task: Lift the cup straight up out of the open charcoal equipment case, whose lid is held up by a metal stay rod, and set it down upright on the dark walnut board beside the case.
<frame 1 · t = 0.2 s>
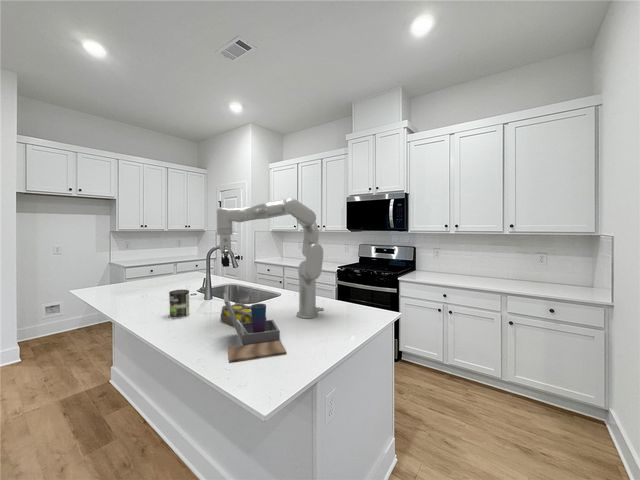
hand: (225, 265, 148), 31 cm above the countertop, tool pointing down, fingers open, 9 cm apart
walnut board: (256, 351, 117), on the countertop
cup: (258, 337, 133), resting in equipment case
coffee can: (179, 316, 164), on the countertop
equipment case: (258, 337, 133), on the countertop
case lid: (231, 313, 128), point 13 cm above the countertop, hinge at 110.0°
cage light: (243, 323, 153), on the countertop
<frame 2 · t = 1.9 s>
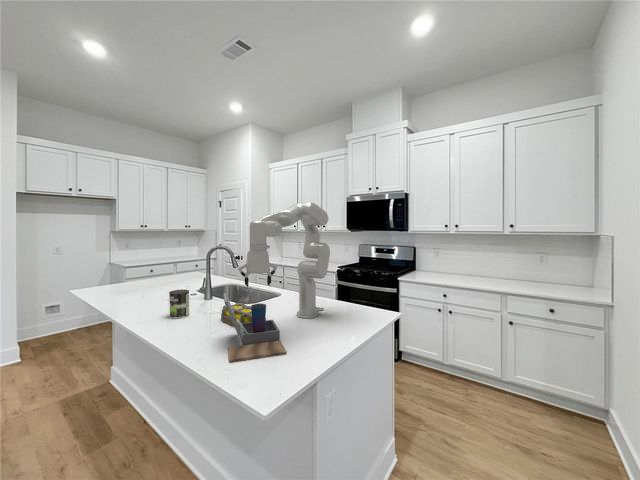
hand: (258, 285, 131), 24 cm above the countertop, tool pointing down, fingers open, 9 cm apart
nothing on the countertop moved.
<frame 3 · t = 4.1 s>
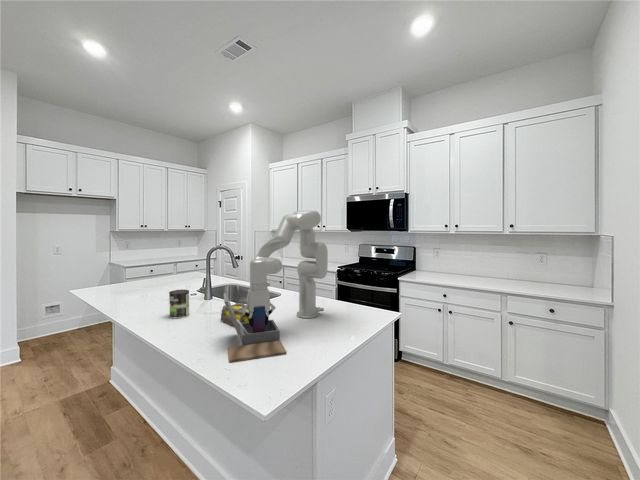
hand: (258, 324, 132), 6 cm above the countertop, tool pointing down, fingers closed on cup, 6 cm apart
cup: (258, 337, 133), resting in equipment case, touching gripper
everything else where it was.
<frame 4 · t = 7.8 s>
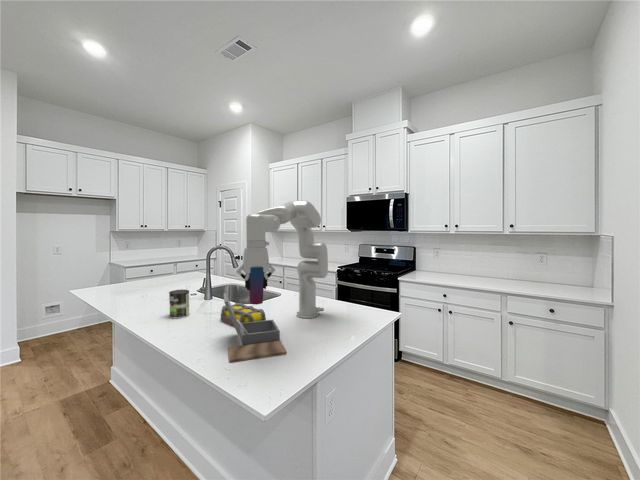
hand: (256, 288, 117), 26 cm above the countertop, tool pointing down, fingers closed on cup, 6 cm apart
cup: (256, 303, 117), point 20 cm above the countertop, touching gripper
everything else where it was.
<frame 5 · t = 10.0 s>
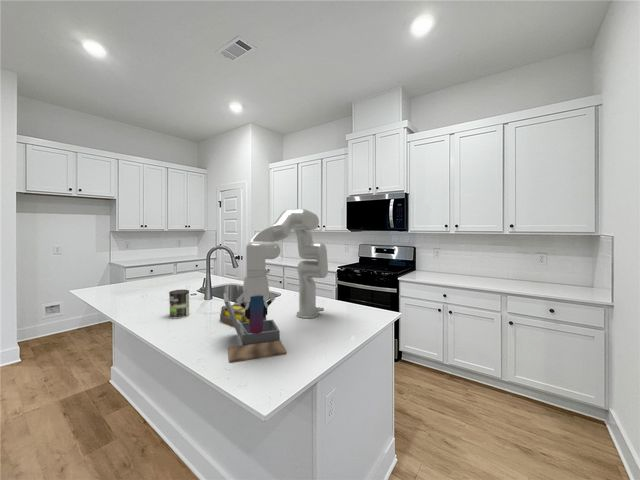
hand: (256, 317, 117), 14 cm above the countertop, tool pointing down, fingers closed on cup, 6 cm apart
cup: (256, 331, 117), point 8 cm above the countertop, touching gripper
everything else where it was.
when the fingers open (8 cm above the countertop, at t = 11.8 s): cup stays where it is, resting on walnut board.
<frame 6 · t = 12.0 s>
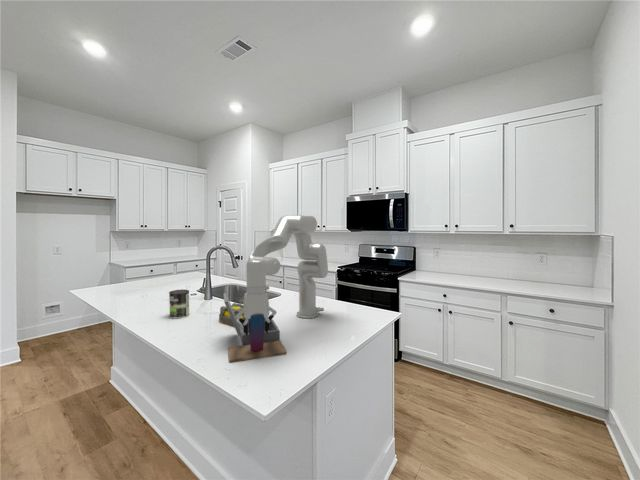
hand: (256, 332, 117), 8 cm above the countertop, tool pointing down, fingers open, 7 cm apart
cup: (257, 349, 118), point 1 cm above the countertop, touching walnut board
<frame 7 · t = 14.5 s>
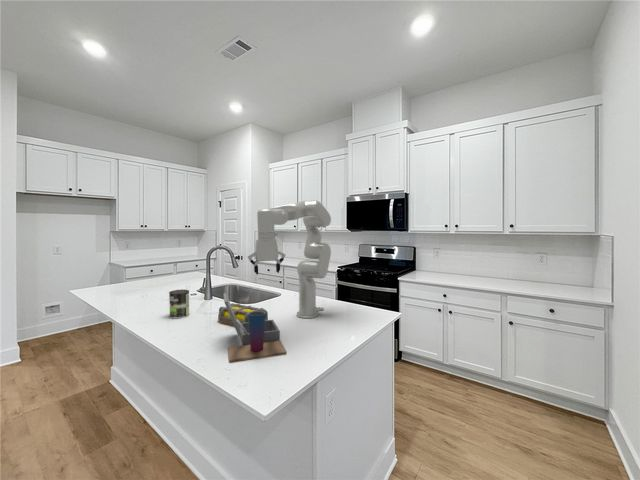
hand: (267, 273, 133), 30 cm above the countertop, tool pointing down, fingers open, 9 cm apart
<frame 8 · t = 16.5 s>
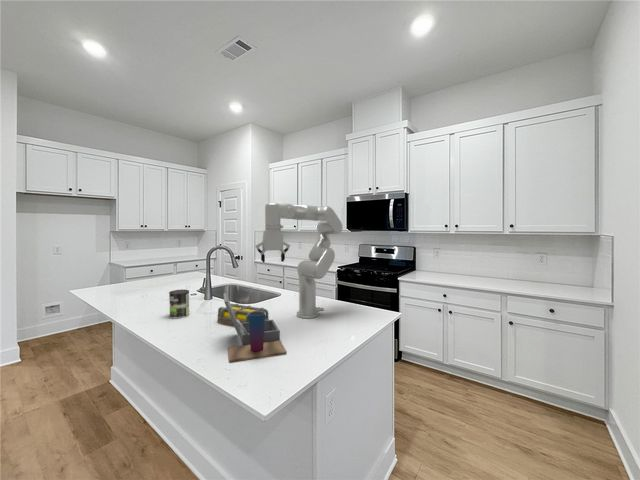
hand: (273, 261, 145), 33 cm above the countertop, tool pointing down, fingers open, 9 cm apart
at the end: cup inside the target area on the walnut board (0.3 cm from its centre), point 0.8 cm above the walnut board's base; cup tilted 0°; the gripper is holding nothing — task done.
